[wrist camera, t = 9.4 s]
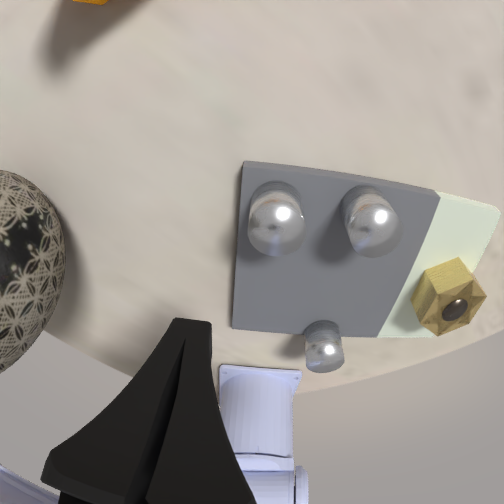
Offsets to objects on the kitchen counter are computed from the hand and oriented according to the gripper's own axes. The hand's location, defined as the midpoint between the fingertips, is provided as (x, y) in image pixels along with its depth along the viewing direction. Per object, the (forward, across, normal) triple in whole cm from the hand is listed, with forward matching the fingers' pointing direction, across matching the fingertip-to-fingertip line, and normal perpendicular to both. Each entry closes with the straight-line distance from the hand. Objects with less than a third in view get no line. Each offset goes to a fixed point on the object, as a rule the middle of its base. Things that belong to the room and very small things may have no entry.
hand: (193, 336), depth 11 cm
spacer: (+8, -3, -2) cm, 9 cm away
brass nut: (+8, -17, +4) cm, 19 cm away
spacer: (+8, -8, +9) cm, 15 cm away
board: (+9, -10, +3) cm, 14 cm away
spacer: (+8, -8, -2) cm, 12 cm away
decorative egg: (+10, +15, +1) cm, 18 cm away
